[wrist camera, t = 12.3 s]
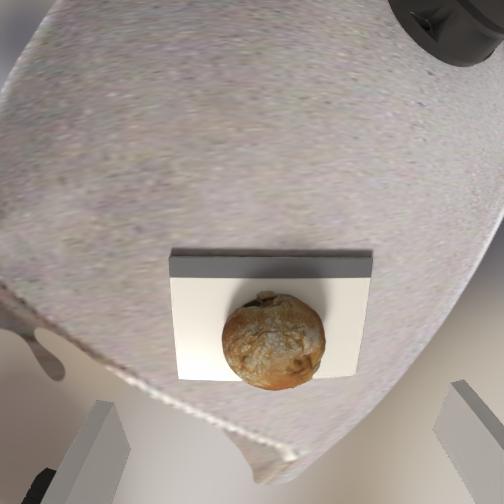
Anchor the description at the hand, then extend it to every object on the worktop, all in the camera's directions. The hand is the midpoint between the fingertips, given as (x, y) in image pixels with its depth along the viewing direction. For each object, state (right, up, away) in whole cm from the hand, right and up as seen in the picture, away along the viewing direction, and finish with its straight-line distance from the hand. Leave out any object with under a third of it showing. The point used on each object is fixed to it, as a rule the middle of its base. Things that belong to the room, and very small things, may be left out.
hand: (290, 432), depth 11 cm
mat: (+1, -1, +22) cm, 22 cm away
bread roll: (+1, -2, +22) cm, 23 cm away
